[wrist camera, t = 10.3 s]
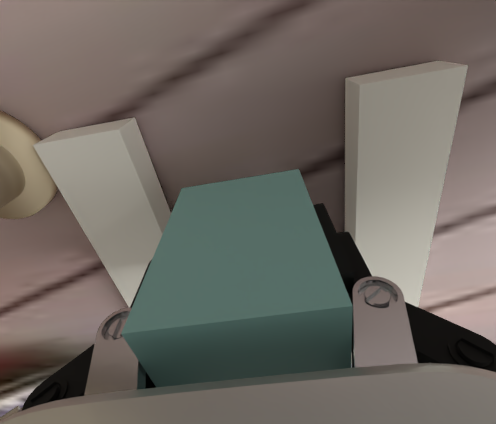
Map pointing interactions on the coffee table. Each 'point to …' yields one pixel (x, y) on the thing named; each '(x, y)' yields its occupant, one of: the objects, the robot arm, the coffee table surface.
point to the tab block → (241, 287)
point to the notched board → (356, 177)
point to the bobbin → (21, 171)
